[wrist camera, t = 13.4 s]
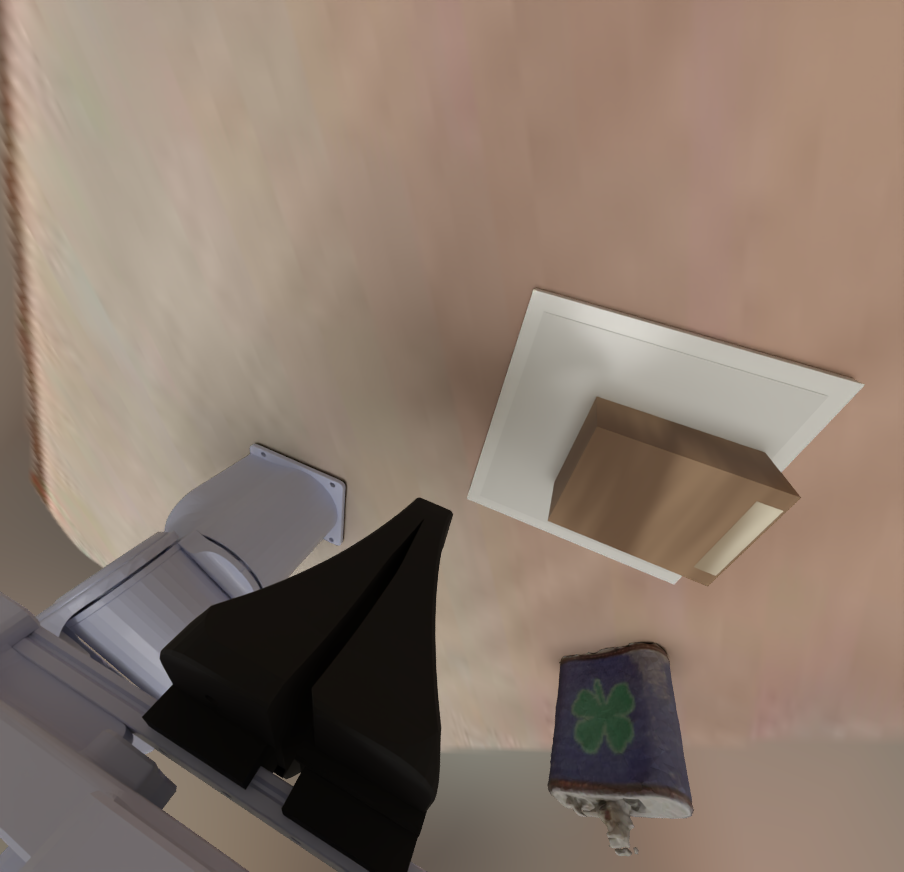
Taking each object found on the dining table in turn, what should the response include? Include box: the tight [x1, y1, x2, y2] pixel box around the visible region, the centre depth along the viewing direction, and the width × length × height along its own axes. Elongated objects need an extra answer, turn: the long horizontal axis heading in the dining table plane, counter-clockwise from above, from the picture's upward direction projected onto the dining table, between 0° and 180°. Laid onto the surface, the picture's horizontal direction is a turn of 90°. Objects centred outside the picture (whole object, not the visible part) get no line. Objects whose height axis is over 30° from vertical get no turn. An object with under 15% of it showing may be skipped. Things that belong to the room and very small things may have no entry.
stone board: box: [467, 288, 864, 584], centre depth 19 cm, size 14×14×1 cm
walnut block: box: [548, 397, 801, 586], centre depth 17 cm, size 4×6×8 cm
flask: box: [548, 643, 694, 856], centre depth 24 cm, size 9×3×11 cm, turn 136°
